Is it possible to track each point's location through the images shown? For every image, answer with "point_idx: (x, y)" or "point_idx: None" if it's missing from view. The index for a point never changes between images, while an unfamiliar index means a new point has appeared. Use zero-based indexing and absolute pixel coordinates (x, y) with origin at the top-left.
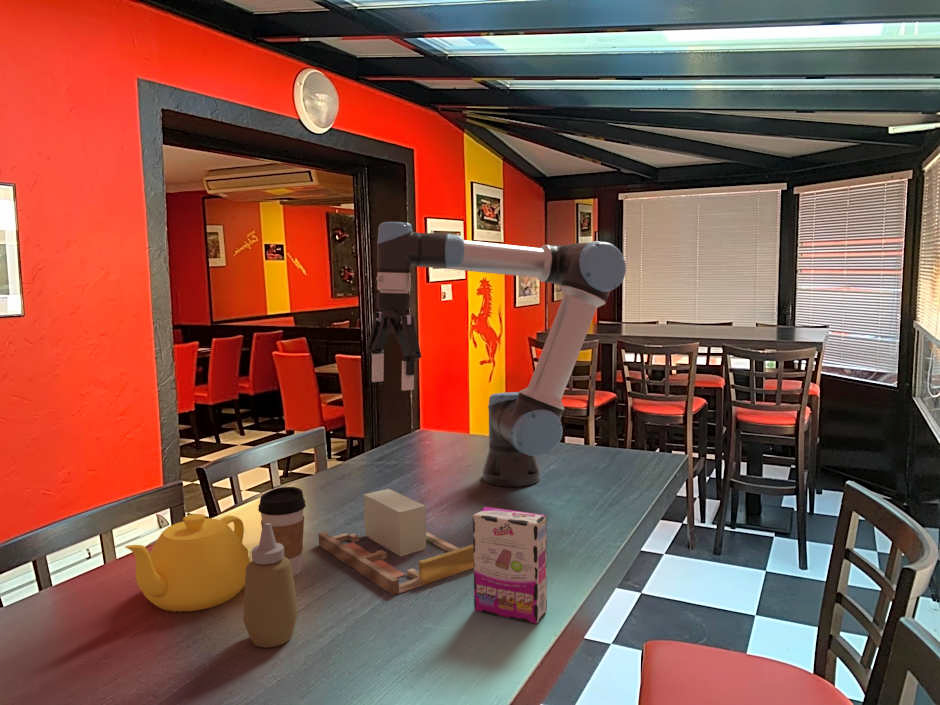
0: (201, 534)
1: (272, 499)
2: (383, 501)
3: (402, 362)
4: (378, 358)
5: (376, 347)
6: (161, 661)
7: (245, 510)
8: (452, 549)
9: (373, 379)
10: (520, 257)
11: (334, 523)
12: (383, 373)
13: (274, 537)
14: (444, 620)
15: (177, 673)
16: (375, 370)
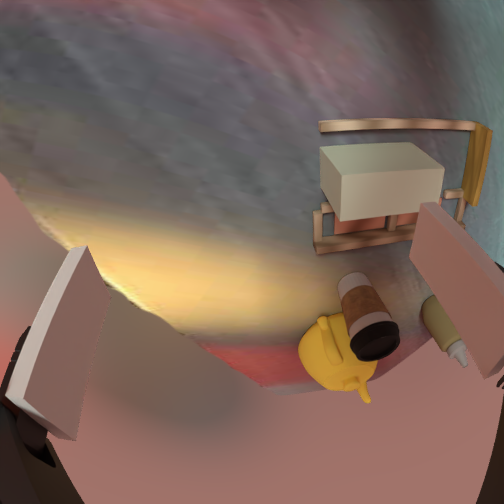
0: (365, 374)
1: (370, 351)
2: (389, 209)
3: (483, 368)
4: (59, 393)
5: (68, 483)
6: (402, 343)
7: (137, 288)
8: (444, 128)
9: (107, 306)
10: None
11: (247, 207)
12: (71, 277)
13: (464, 354)
14: (501, 209)
15: (418, 337)
16: (91, 338)
